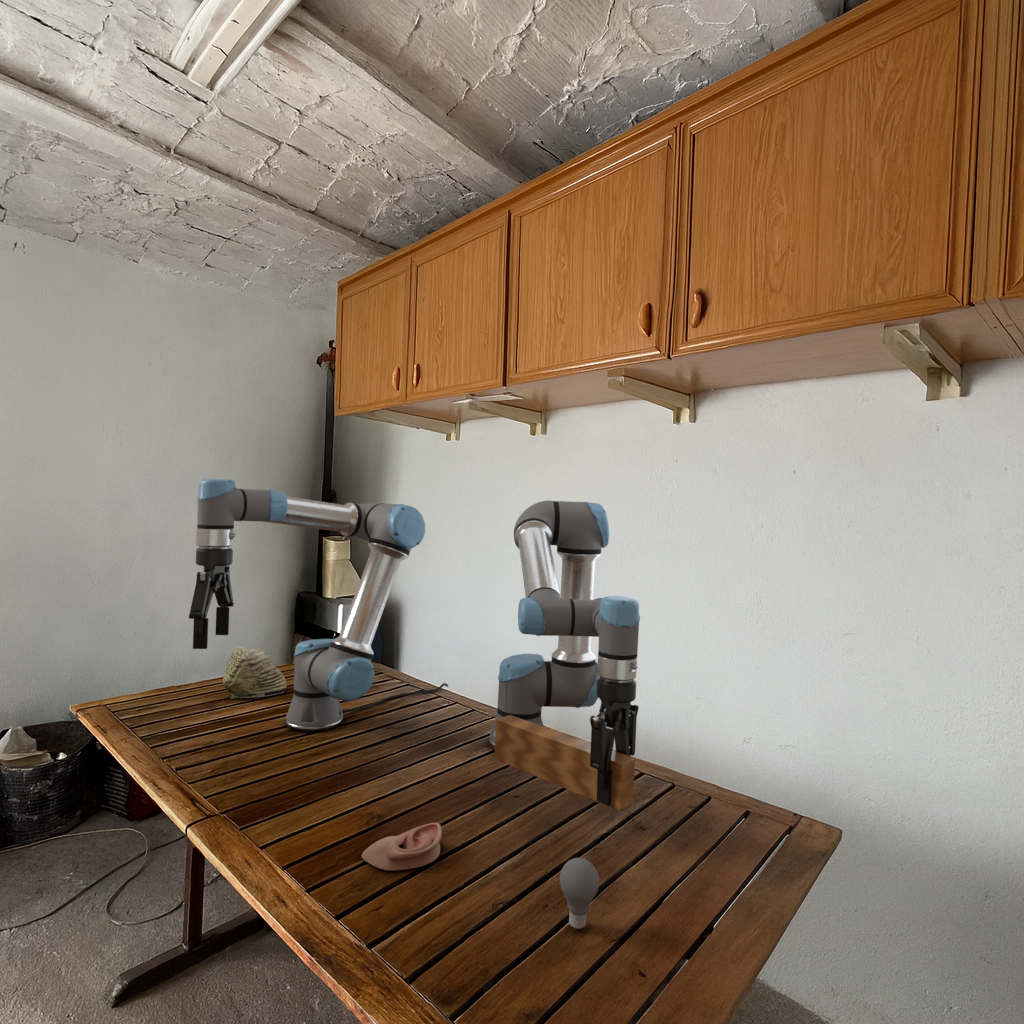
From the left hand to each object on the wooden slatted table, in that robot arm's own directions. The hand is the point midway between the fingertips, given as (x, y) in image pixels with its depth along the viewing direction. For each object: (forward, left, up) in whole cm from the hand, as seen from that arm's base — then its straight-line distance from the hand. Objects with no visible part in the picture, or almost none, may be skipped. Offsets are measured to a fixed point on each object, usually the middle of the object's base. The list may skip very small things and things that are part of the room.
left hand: (211, 641), depth 143 cm
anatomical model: (-8, +57, -30) cm, 65 cm away
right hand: (-39, +82, -22) cm, 93 cm away
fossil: (-36, -43, -30) cm, 63 cm away
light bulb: (-13, +91, -30) cm, 97 cm away
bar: (-40, +69, -22) cm, 83 cm away
